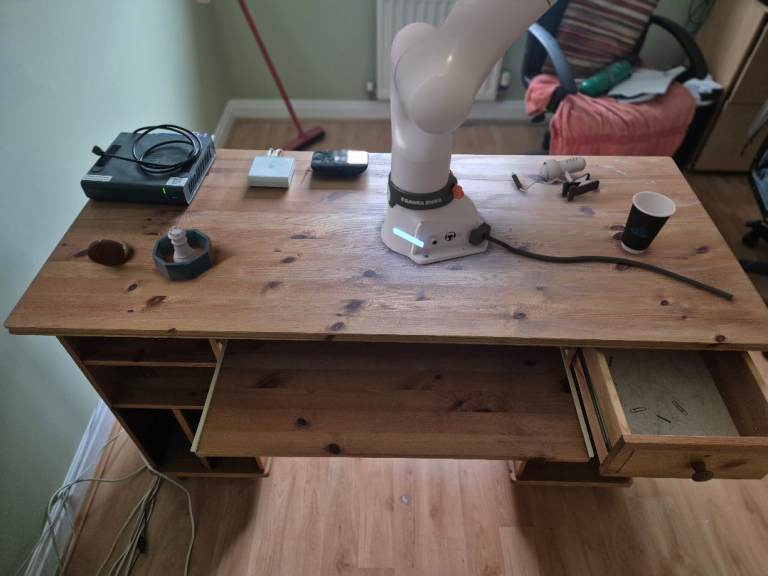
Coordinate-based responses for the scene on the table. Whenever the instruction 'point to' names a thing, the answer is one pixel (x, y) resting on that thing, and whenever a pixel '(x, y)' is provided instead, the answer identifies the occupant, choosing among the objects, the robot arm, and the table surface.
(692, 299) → the table surface
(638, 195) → the dixie cup
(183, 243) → the rook chess piece
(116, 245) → the dark brown rounded lump
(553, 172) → the clip-on lamp
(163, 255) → the octagonal bangle
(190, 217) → the table surface
